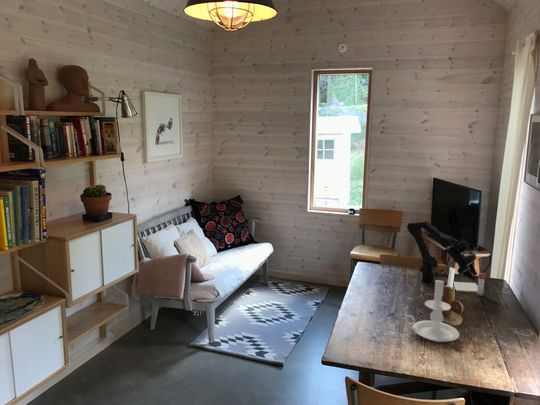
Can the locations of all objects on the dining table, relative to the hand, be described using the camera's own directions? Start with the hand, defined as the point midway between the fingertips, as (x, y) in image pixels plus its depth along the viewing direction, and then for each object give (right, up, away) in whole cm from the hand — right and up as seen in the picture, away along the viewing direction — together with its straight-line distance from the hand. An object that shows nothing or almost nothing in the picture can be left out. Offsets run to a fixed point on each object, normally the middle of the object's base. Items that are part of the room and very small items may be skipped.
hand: (475, 277), depth 254 cm
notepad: (-1, -8, +12) cm, 15 cm away
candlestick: (-45, -19, -49) cm, 69 cm away
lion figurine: (-8, -4, +37) cm, 38 cm away
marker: (+3, -10, 0) cm, 11 cm away
